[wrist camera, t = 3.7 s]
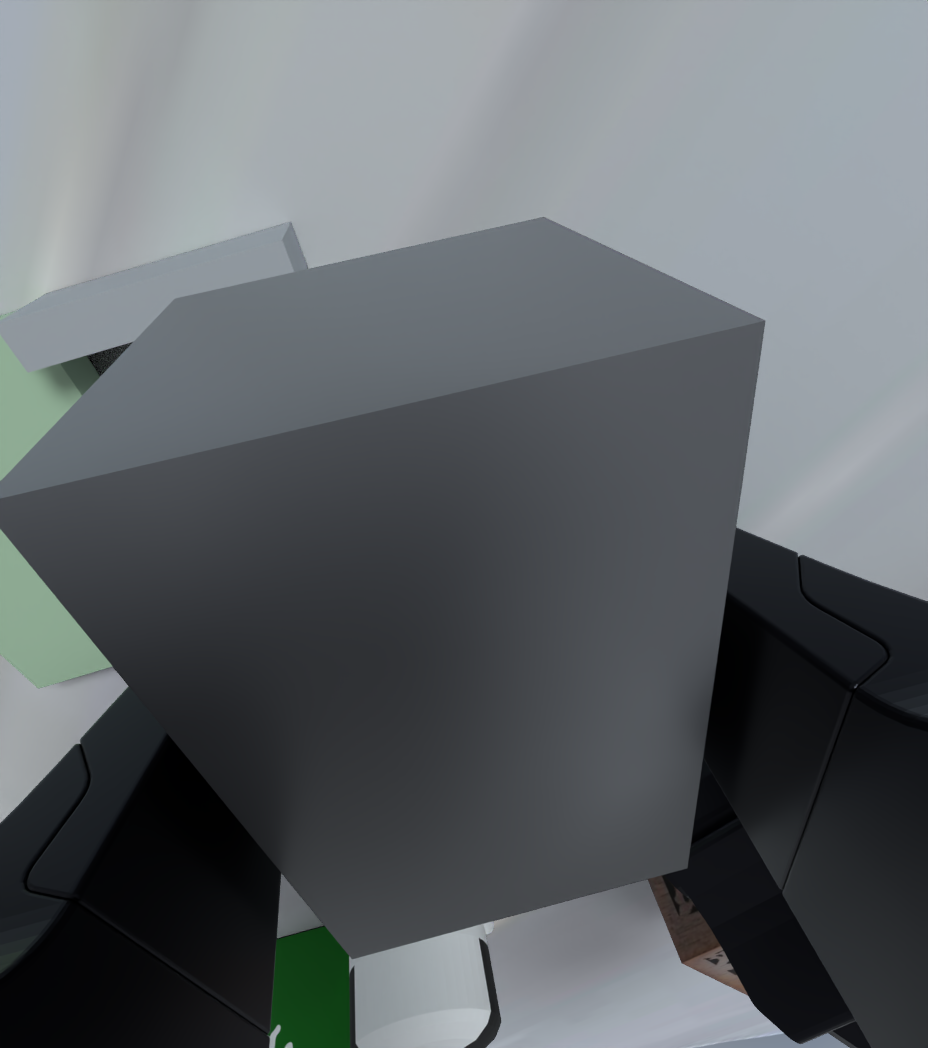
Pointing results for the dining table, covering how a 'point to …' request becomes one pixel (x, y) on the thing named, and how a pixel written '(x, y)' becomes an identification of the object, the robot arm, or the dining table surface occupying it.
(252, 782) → the gray cuboid pillar
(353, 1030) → the medicine bottle
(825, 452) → the dining table surface
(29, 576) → the deck
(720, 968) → the tissue box cover
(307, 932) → the milk carton
